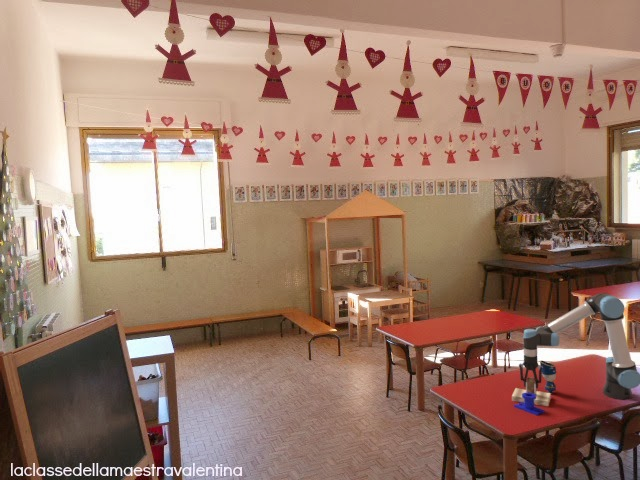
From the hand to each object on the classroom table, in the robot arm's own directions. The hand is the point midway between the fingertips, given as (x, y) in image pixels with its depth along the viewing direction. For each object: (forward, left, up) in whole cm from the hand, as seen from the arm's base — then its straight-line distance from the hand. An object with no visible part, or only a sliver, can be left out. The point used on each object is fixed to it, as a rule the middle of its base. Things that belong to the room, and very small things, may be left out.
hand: (531, 392), depth 289 cm
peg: (0, 0, -3) cm, 3 cm away
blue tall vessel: (-8, -16, -4) cm, 18 cm away
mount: (-1, +16, -5) cm, 17 cm away
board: (0, 0, -4) cm, 4 cm away
